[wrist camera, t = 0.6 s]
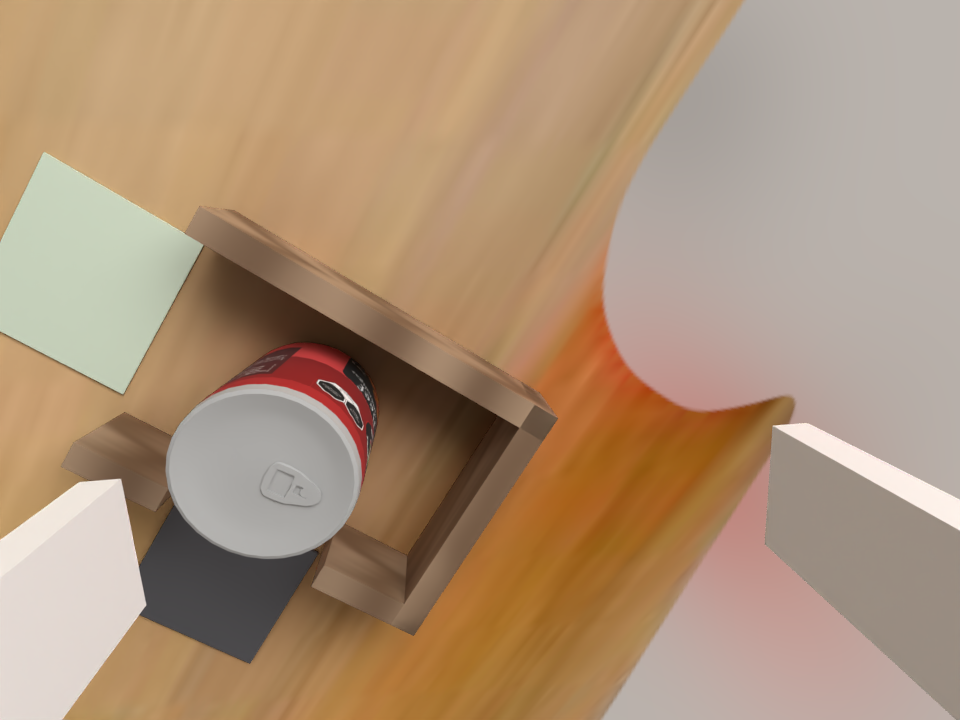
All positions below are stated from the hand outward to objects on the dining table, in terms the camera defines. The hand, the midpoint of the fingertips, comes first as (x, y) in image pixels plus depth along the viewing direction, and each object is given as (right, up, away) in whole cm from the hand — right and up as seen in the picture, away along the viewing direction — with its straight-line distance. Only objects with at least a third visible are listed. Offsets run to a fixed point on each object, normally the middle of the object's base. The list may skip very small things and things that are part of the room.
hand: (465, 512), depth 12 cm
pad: (-21, +8, +20) cm, 30 cm away
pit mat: (-16, -11, +25) cm, 31 cm away
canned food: (-10, +1, +23) cm, 25 cm away
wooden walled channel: (-9, 0, +23) cm, 25 cm away
